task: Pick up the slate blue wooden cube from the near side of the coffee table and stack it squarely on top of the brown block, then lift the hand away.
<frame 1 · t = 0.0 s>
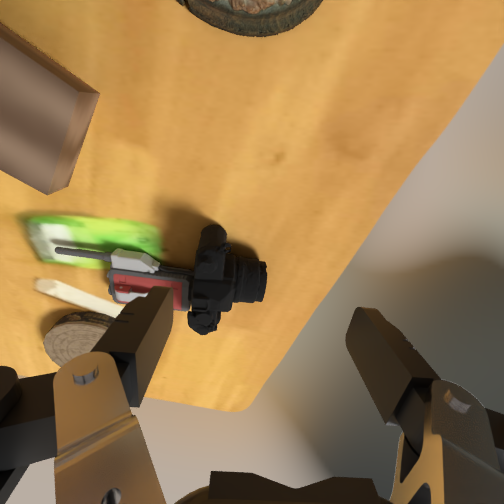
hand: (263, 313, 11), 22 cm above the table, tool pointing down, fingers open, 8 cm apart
brown block: (28, 107, 26), on the table
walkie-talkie: (136, 271, 37), on the table, touching film camera
film camera: (228, 266, 36), on the table, touching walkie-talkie
wood log slice: (101, 339, 46), on the table
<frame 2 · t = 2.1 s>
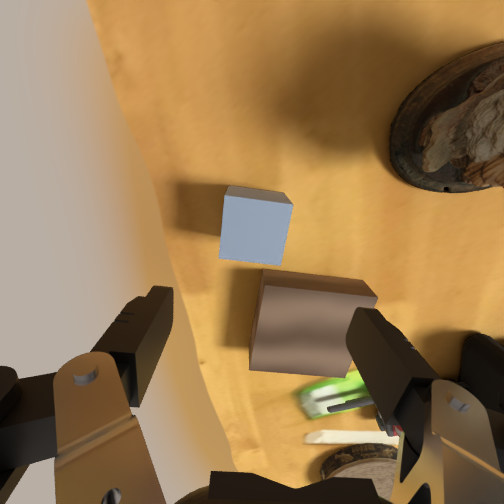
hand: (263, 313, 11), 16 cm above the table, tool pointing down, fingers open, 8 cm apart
brown block: (301, 313, 31), on the table
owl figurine: (471, 127, 22), on the table
blue cube: (252, 215, 25), on the table
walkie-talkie: (392, 398, 37), on the table, touching film camera
film camera: (489, 362, 34), on the table, touching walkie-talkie
wood log slice: (361, 465, 45), on the table
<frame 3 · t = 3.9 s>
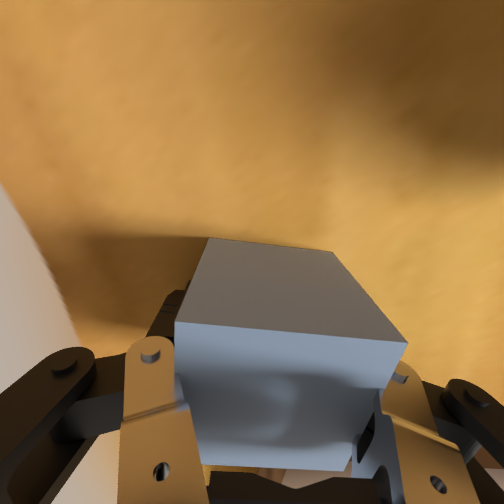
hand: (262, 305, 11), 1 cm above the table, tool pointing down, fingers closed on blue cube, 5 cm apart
brown block: (346, 444, 17), on the table
blue cube: (262, 297, 12), on the table, touching gripper
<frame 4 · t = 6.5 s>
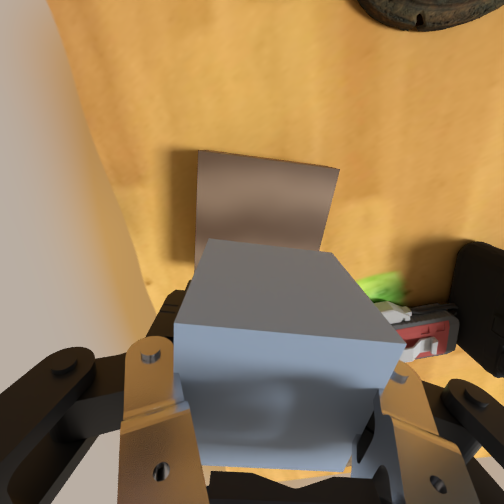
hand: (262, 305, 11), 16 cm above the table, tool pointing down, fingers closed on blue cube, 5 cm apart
brown block: (258, 216, 26), on the table
blue cube: (262, 297, 12), point 15 cm above the table, touching gripper
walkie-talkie: (370, 325, 32), on the table, touching film camera
film camera: (482, 286, 30), on the table, touching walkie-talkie
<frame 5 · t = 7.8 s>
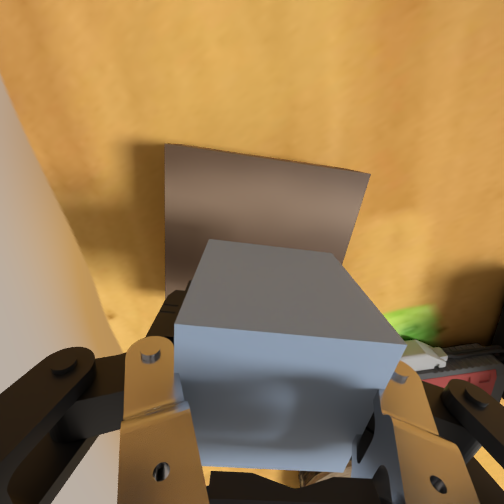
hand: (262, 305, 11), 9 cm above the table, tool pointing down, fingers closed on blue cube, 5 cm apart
brown block: (254, 234, 20), on the table
blue cube: (262, 298, 12), point 8 cm above the table, touching gripper
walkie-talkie: (390, 366, 26), on the table, touching film camera
wood log slice: (353, 467, 34), on the table
when the fingers open (6 cm above the table, at t = 8.9 s): blue cube drops 2 cm, resting on brown block.
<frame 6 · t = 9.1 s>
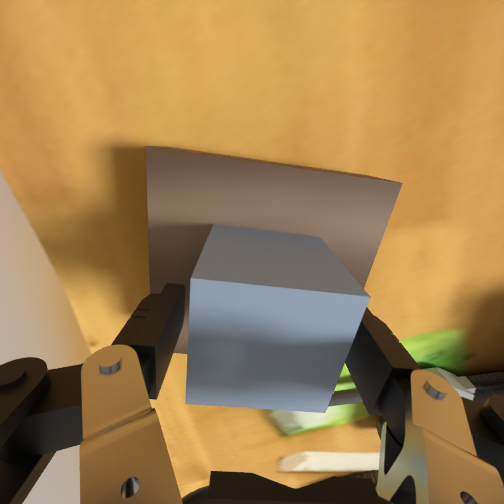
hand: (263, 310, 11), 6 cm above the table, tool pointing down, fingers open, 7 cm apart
brown block: (256, 250, 17), on the table, touching blue cube
blue cube: (259, 277, 13), point 3 cm above the table, touching brown block
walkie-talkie: (406, 395, 23), on the table, touching film camera
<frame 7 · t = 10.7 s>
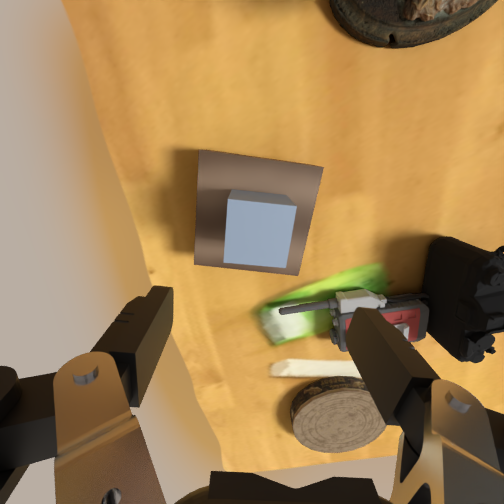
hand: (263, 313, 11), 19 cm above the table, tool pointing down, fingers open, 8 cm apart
brown block: (253, 210, 29), on the table
blue cube: (256, 218, 25), point 4 cm above the table
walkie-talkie: (349, 312, 35), on the table, touching film camera
film camera: (452, 279, 33), on the table, touching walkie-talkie
wood log slice: (334, 405, 43), on the table
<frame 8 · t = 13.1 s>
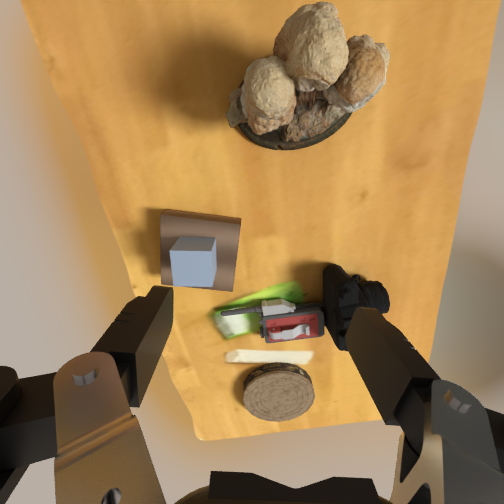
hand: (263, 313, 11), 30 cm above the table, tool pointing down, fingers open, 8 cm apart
brown block: (203, 246, 42), on the table, touching blue cube
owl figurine: (291, 104, 34), on the table
blue cube: (198, 253, 38), point 4 cm above the table, touching brown block
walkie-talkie: (274, 315, 48), on the table, touching film camera
film camera: (344, 293, 46), on the table, touching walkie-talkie
wood log slice: (277, 385, 56), on the table
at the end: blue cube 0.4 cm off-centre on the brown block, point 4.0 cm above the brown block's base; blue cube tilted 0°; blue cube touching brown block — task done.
